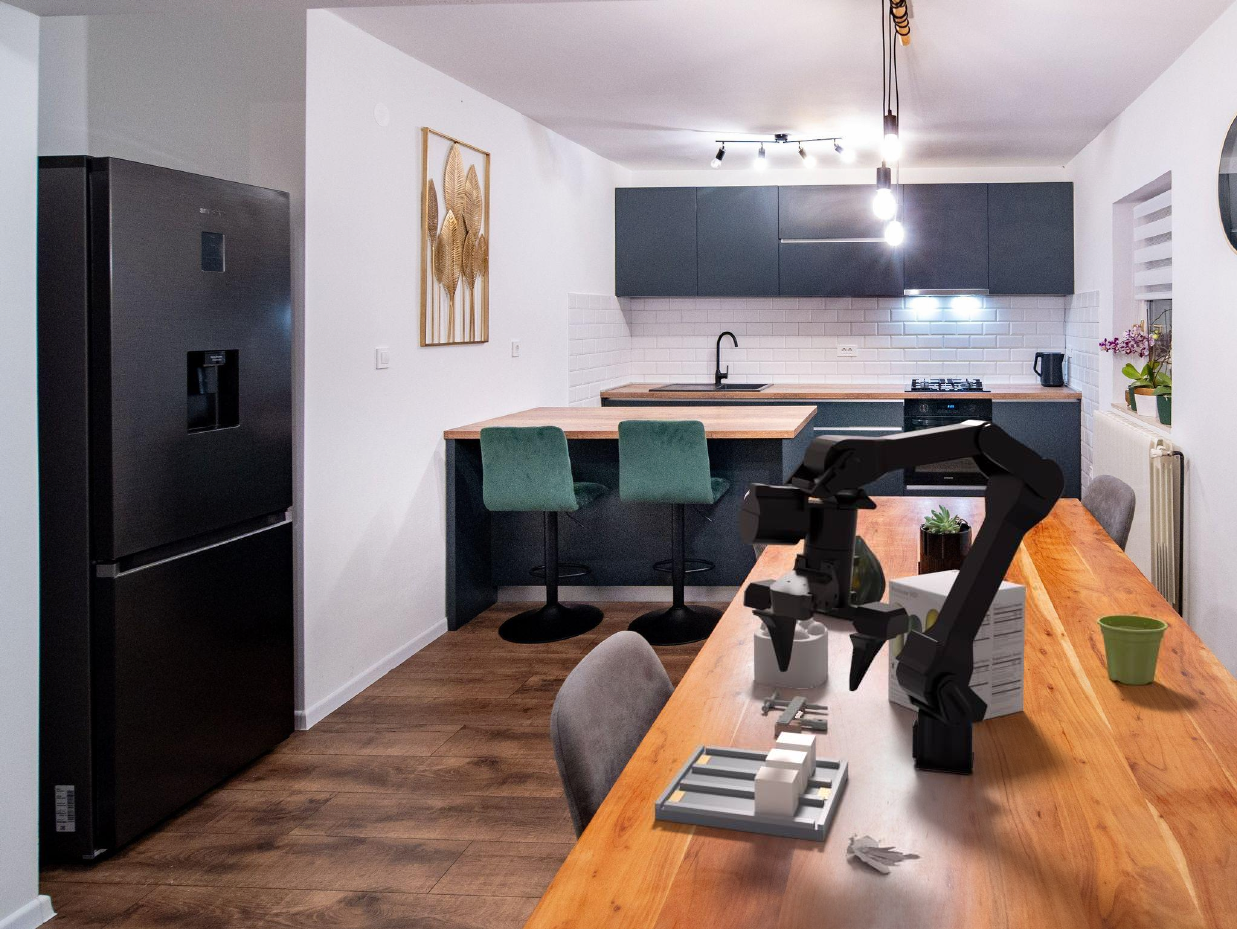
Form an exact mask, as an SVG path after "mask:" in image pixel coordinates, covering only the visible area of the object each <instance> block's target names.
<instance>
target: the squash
mask: <svg viewBox="0 0 1237 929" xmlns="http://www.w3.org/2000/svg"><path fill="white" fill-rule="evenodd" d="M854 556H857V557H860V559H859V566H853V574H852V585H851V591H853V592H856V601H853V602H850V604H852V605H856V606H860V605H864V604H869V603H873V602H881V600H882V599H883V597H884V595H885V592H886V588H887V587H886V586H887V584H886V583H887V582H886V577H885V573H884V570H883V567H882V565H881V562H880V560H879V559H878V557H877V556H876V554H874V552H873V551H872V550H871V548H870V547H869V546H868V544H867V543H866V541H865V540H864V539H863V538H862V536H861V535H860V534H856V539H855V552H854ZM831 609H832V608H831ZM832 610H836V611H838V609H832Z"/></svg>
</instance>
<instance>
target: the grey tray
mask: <svg viewBox="0 0 1237 929" xmlns="http://www.w3.org/2000/svg"><path fill="white" fill-rule="evenodd" d="M705 745H706V744H699V745H698V746H697V748H696V749H695V750H694V751H693V753H692V754H691V755H690V756H689V758H688V759H687V760H686V762H685V763H684V765H683V766H682V767H681V769H680V770H679V771H678V772H677V774H676V775H675V776H674V777H673V779H672V780H671V782H670V783H669V784H668V785H667V787H666V788H665V789H664V791H662V793H661V794H660V796H659V797H658V798H657V800H656V801H655V802H654V819H655V820H657V821H665V822H666V821H667V822H672V823H680V824H687V825H696V826H701V827H702V826H703V827H709V828H719V829H726V830H732V831H733V830H734V831H740V832H748V833H755V834H763V835H770V836H776V837H778V836H779V837H785V838H793V839H800V840H808V841H814V842H815V841H816V842H824V841H825V839H826V836H827V834H828V830H829V828H830V826H831V822H832V820H833V817H834V814H835V811H836V810H837V807H836V806H838V804H839V801H840V799H839V798H841V795H842V793H843V791H844V787H845V785H846V783H847V780H846V779H848V777H849V760H848V759H843V760H842V762H841V763H840V761H841V760H840V759H839V758H830V757H820V756H816V767H815V770H814V772H813V774H812V776H807V787H806V789H805V791H804V794H800V793H798V807H797V809H796V811H795V813H794V816H793V817H791V816H784V815H776V814H768V813H760V812H755V782H754V778H755V777H756V775H757V773H758V772H759V770H760V768H761V766H762V767H766V758H767V756H768V754H769V753H770V751H764V750H753V749H748V748H747V749H745V748H737V747H730V746H729V747H728V746H727V747H726V746H717V745H709V744H708V745H707V746H706V747H705ZM845 782H846V783H845ZM844 784H845V785H844ZM842 790H843V791H842Z"/></svg>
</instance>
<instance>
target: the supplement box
mask: <svg viewBox="0 0 1237 929" xmlns="http://www.w3.org/2000/svg"><path fill="white" fill-rule="evenodd" d="M959 571H960V570H958V569H952V570H945V571H944V570H943V571H939V572H938V571H937V572H931V573H925V574H918V575H912V576H905V577H899V578H893V579H889V580H888V604H891V605H896V606H900V607H905V609H906V611H907V613H908V615H909V618H910V620H909V630H908V633H904V634H900V635H897V637H896V638H894V639H890V640H888V678H887V679H888V685H887V686H888V688H887V689H888V690H887V691H888V693H887V694H888V697H887V698H888V701H891V702H893V703H895V704H898V705H901V706H903V707H905V708H907V709H910V710H913V711H915V712H917V713H918V711H919V708H918V707H917V706H915V705H912V704H910V701H909V699H908V696H907V693H906V692H905V691H903V690H902V688H901V687H900V685H899V683H898V680H897V677H896V668H897V665H898V662H899V661H898V660H896V659H895V657H896V656H897V655H898V654H899V653H900V652H901V651H902V649H903V647H904V645H905V642H906V639H907V635H908V634H909V632H910V631H911V630H914V631H916V632H919V633H921V634H922V633H923V632H924V631H926V630H927V629H928V628H929V627H931V626H932V625H933V624H934V622H935V621H936V619H937V617H938V614H939V612H940V610H941V608H942V606H943V604H944V602H945V600H946V598H947V596H948V594H949V592H950V590H951V587H952V585H953V583H954V581H955V579H956V577H957V575H958V573H959ZM1026 591H1027V586H1025V585H1024V584H1019V583H1013V582H1009V581H1006V580H1003V581H1002V583H1001V585H1000V588H999V590H998V592H997V594H996V596H995V598H994V600H993V602H992V604H991V606H990V608H989V610H988V613H987V615H986V617H985V619H984V621H983V623H982V625H981V627H980V629H979V631H978V633H977V635H976V638H975V640H974V643H973V658H974V671H973V674H972V677H971V680H970V684H969V687H970V688H971V689H972V690H973V691H974V692H975V693H976V694H977V695H978V696H979V697H980V698H981V699H982V700H983V701H984V702H985V703H986V704H987V706H988V707H987V710H986V713H985V716H984V719H983V721H984V720H988V719H992V718H996V717H1001V716H1006V715H1010V714H1014V713H1019V712H1023V711H1024V687H1025V686H1024V683H1025V681H1024V679H1025V678H1024V677H1025V634H1026V631H1025V628H1026V627H1025V626H1026V596H1027V595H1026V594H1027V593H1026Z"/></svg>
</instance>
